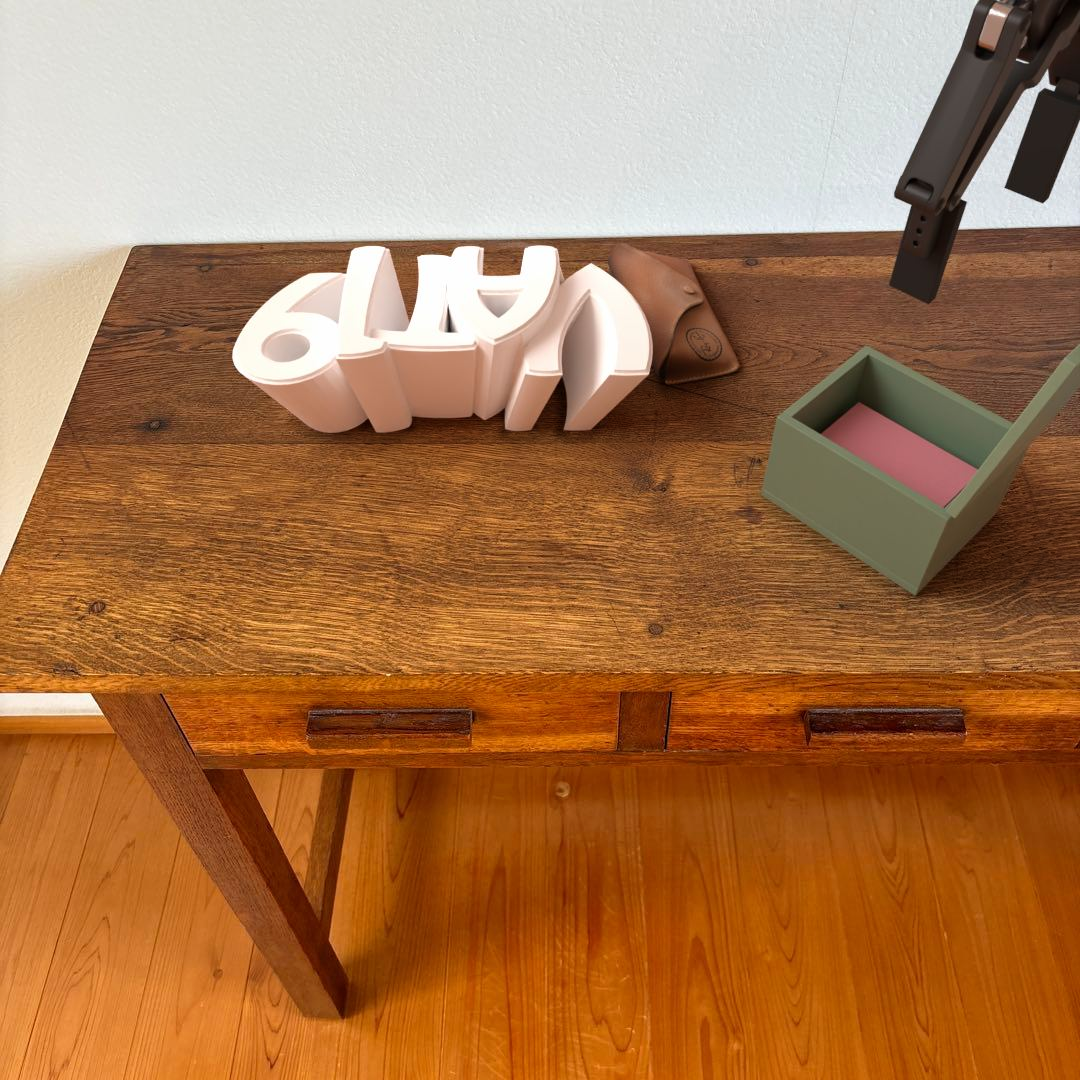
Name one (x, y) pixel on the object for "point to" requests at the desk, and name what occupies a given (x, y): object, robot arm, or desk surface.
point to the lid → (1024, 429)
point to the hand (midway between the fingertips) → (971, 241)
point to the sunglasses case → (674, 316)
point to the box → (870, 494)
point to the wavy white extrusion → (446, 343)
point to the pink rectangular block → (901, 454)
